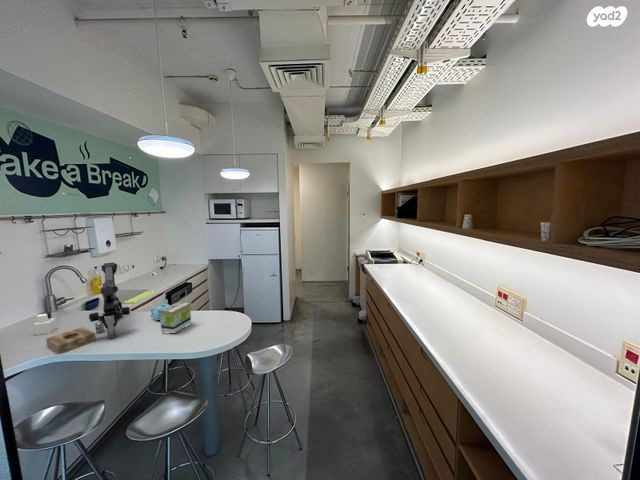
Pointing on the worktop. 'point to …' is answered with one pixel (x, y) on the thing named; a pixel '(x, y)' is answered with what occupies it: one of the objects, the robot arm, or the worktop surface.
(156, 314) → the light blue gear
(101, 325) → the short pin
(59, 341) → the plate
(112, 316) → the long pin
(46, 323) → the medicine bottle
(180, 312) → the tea box
